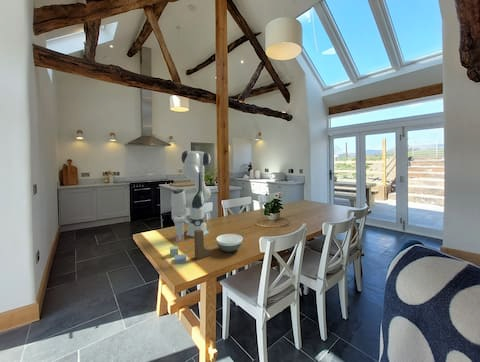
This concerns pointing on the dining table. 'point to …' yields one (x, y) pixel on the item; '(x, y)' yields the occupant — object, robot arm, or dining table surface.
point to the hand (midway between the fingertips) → (179, 237)
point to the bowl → (229, 242)
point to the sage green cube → (173, 251)
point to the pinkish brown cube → (181, 238)
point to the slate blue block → (180, 258)
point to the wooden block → (200, 245)
